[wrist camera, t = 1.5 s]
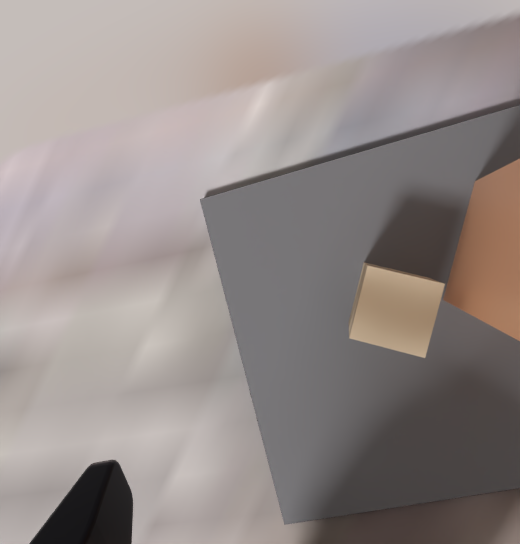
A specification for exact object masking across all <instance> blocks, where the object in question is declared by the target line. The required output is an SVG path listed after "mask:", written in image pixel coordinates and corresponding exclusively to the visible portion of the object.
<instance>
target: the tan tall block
mask: <svg viewBox="0 0 520 544" xmlns="http://www.w3.org/2000/svg"><path fill="white" fill-rule="evenodd" d="M443 300H444V301H446V302H448V303H450V304H452V305H453V306H455V307H457V308H459V309H461V310H463V311H465V312H466V313H468V314H470V315H472V316H474V317H476V318H478V319H479V320H481V321H483V322H485V323H487V324H489V325H490V326H492V327H494V328H496V329H498V330H500V331H502V332H503V333H505V334H507V335H509V336H511V337H513V338H515V339H516V340H518V341H520V159H518V160H516V161H514V162H512V163H510V164H508V165H506V166H504V167H502V168H500V169H498V170H496V171H494V172H492V173H490V174H488V175H486V176H484V177H482V178H480V179H478V180H477V181H475V183H474V187H473V190H472V194H471V198H470V201H469V205H468V209H467V213H466V216H465V220H464V224H463V227H462V231H461V235H460V239H459V242H458V246H457V250H456V253H455V257H454V261H453V265H452V268H451V272H450V276H449V279H448V283H447V287H446V291H445V294H444V298H443Z"/></svg>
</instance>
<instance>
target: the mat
mask: <svg viewBox="0 0 520 544" xmlns="http://www.w3.org/2000/svg"><path fill="white" fill-rule="evenodd" d="M518 159H520V105H518V106H515V107H511V108H508V109H504V110H501V111H498V112H494V113H491V114H488V115H484V116H481V117H477V118H474V119H471V120H467V121H464V122H460V123H457V124H454V125H450V126H447V127H443V128H440V129H437V130H433V131H430V132H426V133H423V134H420V135H416V136H413V137H410V138H406V139H403V140H399V141H396V142H393V143H389V144H386V145H382V146H379V147H376V148H372V149H369V150H365V151H362V152H359V153H355V154H352V155H349V156H345V157H342V158H338V159H335V160H332V161H328V162H325V163H321V164H318V165H315V166H311V167H308V168H304V169H301V170H298V171H294V172H291V173H288V174H284V175H281V176H277V177H274V178H271V179H267V180H264V181H260V182H257V183H254V184H250V185H247V186H243V187H240V188H237V189H233V190H230V191H226V192H223V193H220V194H216V195H213V196H210V197H206V198H203V199H200V202H201V205H202V209H203V213H204V217H205V221H206V225H207V228H208V232H209V236H210V240H211V244H212V248H213V251H214V255H215V259H216V263H217V267H218V271H219V275H220V278H221V282H222V286H223V290H224V294H225V298H226V301H227V305H228V309H229V313H230V317H231V321H232V325H233V328H234V332H235V336H236V340H237V344H238V348H239V351H240V355H241V359H242V363H243V367H244V371H245V375H246V378H247V382H248V386H249V390H250V394H251V398H252V401H253V405H254V409H255V413H256V417H257V421H258V424H259V428H260V432H261V436H262V440H263V444H264V448H265V451H266V455H267V459H268V463H269V467H270V471H271V474H272V478H273V482H274V486H275V490H276V494H277V498H278V501H279V505H280V509H281V513H282V517H283V521H284V524H292V523H298V522H305V521H311V520H318V519H324V518H331V517H337V516H343V515H350V514H356V513H363V512H369V511H376V510H382V509H389V508H395V507H401V506H408V505H414V504H421V503H427V502H434V501H440V500H447V499H453V498H459V497H466V496H472V495H479V494H485V493H492V492H498V491H505V490H511V489H517V488H520V341H518V340H516V339H515V338H513V337H511V336H509V335H507V334H505V333H503V332H502V331H500V330H498V329H496V328H494V327H492V326H490V325H489V324H487V323H485V322H483V321H481V320H479V319H478V318H476V317H474V316H472V315H470V314H468V313H466V312H465V311H463V310H461V309H459V308H457V307H455V306H453V305H452V304H450V303H448V302H446V301H444V300H443V298H444V294H445V291H446V287H447V283H448V279H449V276H450V272H451V268H452V265H453V261H454V257H455V253H456V250H457V246H458V242H459V239H460V235H461V231H462V227H463V224H464V220H465V216H466V213H467V209H468V205H469V201H470V198H471V194H472V190H473V187H474V183H475V181H477V180H478V179H480V178H482V177H484V176H486V175H488V174H490V173H492V172H494V171H496V170H498V169H500V168H502V167H504V166H506V165H508V164H510V163H512V162H514V161H516V160H518ZM363 263H368V264H373V265H377V266H381V267H385V268H390V269H394V270H398V271H402V272H407V273H411V274H415V275H419V276H424V277H428V278H430V279H433V280H436V281H439V282H441V283H444V284H445V286H444V290H443V293H442V297H441V301H440V304H439V308H438V312H437V316H436V319H435V323H434V327H433V331H432V334H431V338H430V342H429V345H428V349H427V353H426V357H425V358H423V357H419V356H415V355H411V354H407V353H404V352H400V351H396V350H392V349H388V348H385V347H381V346H377V345H373V344H369V343H366V342H362V341H358V340H354V339H350V338H349V319H350V315H351V311H352V307H353V303H354V299H355V295H356V291H357V287H358V283H359V279H360V275H361V271H362V267H363Z"/></svg>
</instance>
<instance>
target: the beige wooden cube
mask: <svg viewBox="0 0 520 544" xmlns="http://www.w3.org/2000/svg"><path fill="white" fill-rule="evenodd" d="M444 286H445V284H444V283H441V282H439V281H436V280H433V279H430V278H428V277H424V276H419V275H415V274H411V273H407V272H402V271H398V270H394V269H390V268H385V267H381V266H377V265H373V264H368V263H363V267H362V271H361V275H360V279H359V283H358V287H357V291H356V295H355V299H354V303H353V307H352V311H351V315H350V319H349V338H350V339H354V340H358V341H362V342H366V343H369V344H373V345H377V346H381V347H385V348H388V349H392V350H396V351H400V352H404V353H407V354H411V355H415V356H419V357H423V358H425V357H426V353H427V349H428V345H429V342H430V338H431V334H432V331H433V327H434V323H435V319H436V316H437V312H438V308H439V304H440V301H441V297H442V293H443V290H444Z"/></svg>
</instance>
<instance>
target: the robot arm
mask: <svg viewBox="0 0 520 544" xmlns="http://www.w3.org/2000/svg"><path fill="white" fill-rule="evenodd" d="M132 518H133V498H132V493H131V489H130V487H129V485H128V483H127V480H126V478H125V476H124V474H123V471H122V469H121V467H120V465H119V463H118V462H117V461H116V460H108V461H102V462H97V463H93V464H91V465H90V466H89V467H88V468H87V469H86V470H85V472H84V473H83V474H82V475H81V477H80V478H79V479H78V481H77V482H76V483H75V485H74V486H73V487H72V489H71V490H70V491H69V492H68V494H67V495H66V496H65V498H64V499H63V500H62V502H61V503H60V504H59V506H58V507H57V508H56V509H55V511H54V512H53V513H52V515H51V516H50V517H49V519H48V520H47V521H46V523H45V524H44V525H43V527H42V528H41V529H40V530H39V532H38V533H37V534H36V536H35V537H34V538H33V540H32V541H31V542H30V544H131V542H132Z"/></svg>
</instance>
